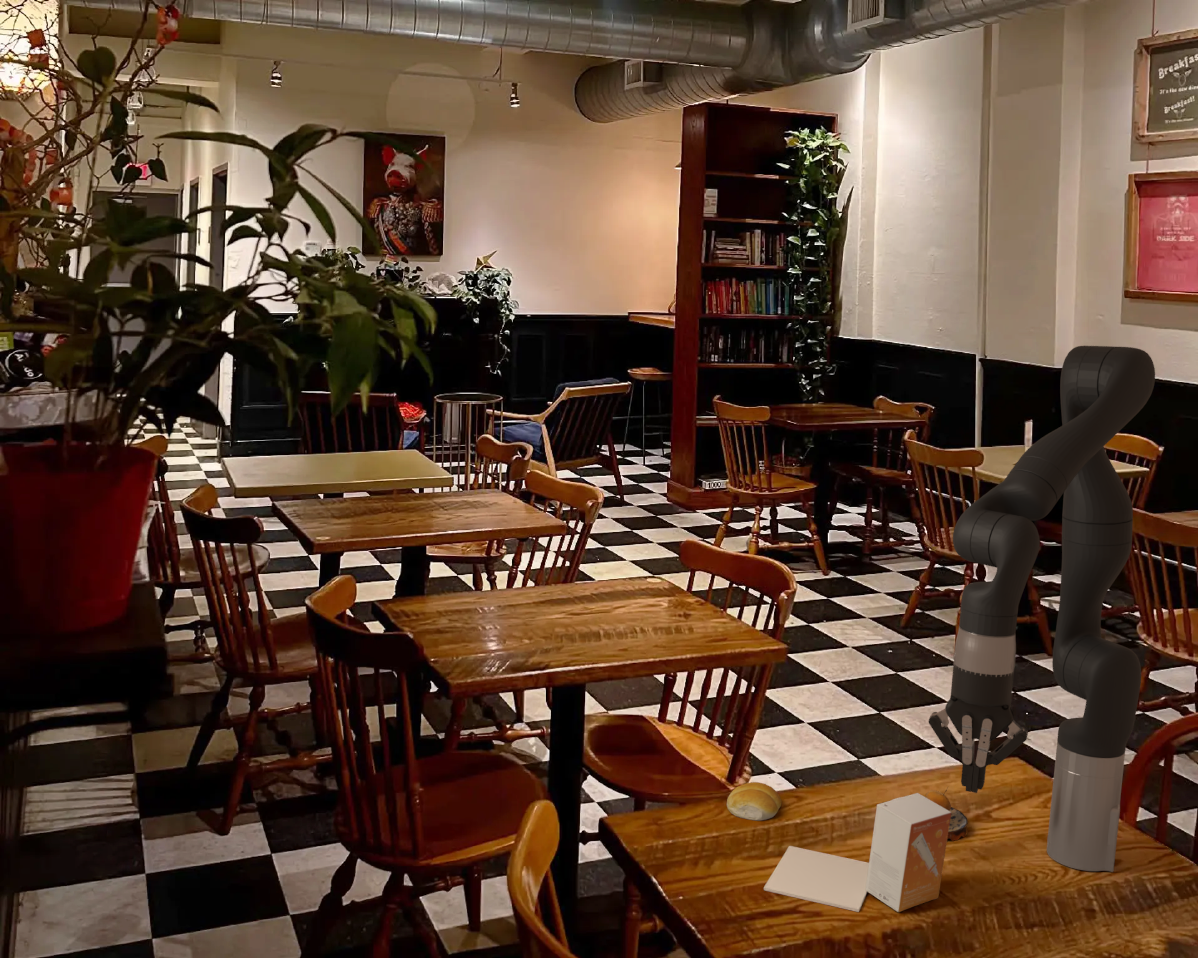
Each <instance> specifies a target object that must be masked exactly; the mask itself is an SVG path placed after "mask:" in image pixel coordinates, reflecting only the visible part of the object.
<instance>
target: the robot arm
mask: <svg viewBox="0 0 1198 958" xmlns="http://www.w3.org/2000/svg"><path fill="white" fill-rule="evenodd" d="M1155 382H1156V368H1155V364H1154V361H1153V358H1152V357H1151V355H1150V354H1149V353H1148V352H1146V350H1144V349H1140V348H1138V347H1130V346H1113V345H1112V346H1109V345H1108V346H1107V345H1079V346H1075V347H1073V348H1072V349H1071V350H1069V352H1068V353H1067V355H1066V356H1065V358H1064V360H1063V364H1062V367H1061V372H1060V383H1059V384H1060V385H1059V387H1060V389H1059V394H1060V395H1059V396H1060V410H1061V423H1062V425H1061V426H1060V427H1058V428H1056V429H1054V430H1052V431H1051V432H1049V433H1047V434H1045V435H1044V436H1043V437H1041V438H1040V439H1037V440H1036V441H1035V442H1034V443H1033V444H1032V445H1030V446H1029V448H1027V449H1026V451H1024V453H1023V454H1022V455H1021V456H1020V458H1018V460H1017V462H1015V464H1014V466H1013V467H1012V469H1011V470H1010V471H1009V473H1008V474H1007V475H1006V477H1005V478H1004V479H1003V480H1002V481H1001V482H1000V483H999V484H997V485H996V486H994V487H992V489H990V490H988V491H987V492H986V493H984V494H983V495H982V496H981V497H980V498H978V499H977V500H975V501H974V502H972V504H971V505H970V506H968V507H967V508H966V510H964V511H963V513H962V514H961V515H960V517H959V518H958V520H957V521H956V524H955V526H954V528H953V532H952V544H953V547H954V550H955V552H956V554H958V556H959V557H960V558H962V559H964V560H965V561H968V562H970V563H975V564H979V565H982V566H983V565H984V566H988V567H992V568H996V571H995V574H994V576H993V579H992V580H991V581H973V582H971V583H968V584H967V585H966V586H964V588H963V589H962V590H963V591H962V595H961V601H960V613H959V624H958V632H957V635H956V640H955V645H954V652H953V655H952V657H953V664H952V665H953V667H952V674H951V675H952V677H951V688H950V698H949V700H948V701H947V702H946V704H945V708H943V709H941V710H939V711H934V712H932V713H931V714H930V716H929V719H928V724H929V726H930V727H931V729H932V730H933V732H934V734H935V735H936V737H937V738H938V740H939V741H940V742H941V743H940V744H942V745H943V747H944V748H945V750H946V752H947V753H948V755H949V756H950V757H951V758H956V759H959V760H960V761H961V763H962V768H961V778H960V783H961V786H963V787H965V792H970V793H974V794H977V793H978V792H979V791H978V790H983V788H984V785H985V781H986V772H987V771H986V769H987V767H988V766H991V765H994V766H998V765H1000V764H1001V763H1002V762H1003V761H1004V760H1005V759H1006V758H1007V757H1009V756H1010V755H1011V754H1012V753H1013V752H1014V751H1016V749H1018V747H1020V746H1021V745H1022V744H1023V743H1025V742H1026V741H1027V739H1028V734H1029V729H1028V728H1027V727H1025V726H1021V725H1020V724H1019V723H1018V722H1016V720H1014V718H1015V717H1014V716H1015V714H1014V712H1013V709H1012V706H1011V705H1012V704H1011V703H1012V695H1013V694H1012V693H1013V685H1014V674H1015V666H1016V657H1017V656H1016V655H1017V642H1016V632H1017V622H1018V613H1019V605H1020V601H1021V598H1022V595H1023V592H1024V589H1025V587H1026V584H1027V582H1028V579H1029V577H1030V574H1031V571H1032V569H1033V567H1034V564H1035V563H1036V560H1037V558H1038V554H1039V551H1040V542H1041V541H1040V540H1041V539H1040V536H1039V531H1038V528H1037V526H1036V525H1035V523H1033V522H1034V521H1039V520H1042V519H1044V518H1045V517H1046V516H1048V515H1049V513H1050V512H1052V510H1053V508H1054V507H1055V506H1056V505H1057V503H1058V502H1059V500H1060V498H1061V497H1062V495H1063V499H1062V500H1063V501H1062V518H1061V521H1062V523H1061V552H1062V553H1061V571H1060V572H1061V575H1060V590H1059V591H1060V593H1059V604H1058V613H1057V620H1056V627H1055V634H1054V642H1053V648H1052V664H1051V665H1052V672H1053V677H1054V681H1055V682H1056V683H1057V685H1058V687H1060V688H1061V689H1062V690H1064V691H1065V692H1067V693H1069V694H1071V695H1074V696H1075V697H1078V698H1080V699H1082V700H1085V705H1084V706H1085V707H1084V711H1083V712H1084V713H1083V714H1082V715H1083V716H1082V717H1071V718H1068V719H1065V720H1063V721H1062V722H1061V723H1060V724H1059V726H1058V731H1057V737H1056V738H1057V741H1056V749H1055V751H1056V752H1055V759H1054V760H1055V762H1054V773H1053V781H1052V791H1051V802H1050V810H1049V811H1050V813H1049V823H1048V833H1047V839H1046V840H1047V843H1046V853H1047V855H1048V856H1049V857H1050V858H1051V859H1052V860H1053V861H1055V862H1057V863H1058V864H1061V865H1063V866H1065V867H1069V868H1071V869H1075V870H1078V871H1079V870H1081V871H1087V872H1101V871H1106V872H1112V873H1113V872H1114V870H1115V869H1114V868H1115V860H1116V850H1117V840H1118V832H1119V824H1120V823H1119V822H1120V814H1121V813H1120V812H1121V796H1122V795H1121V793H1122V786H1123V785H1122V783H1123V774H1124V769H1125V768H1124V765H1125V758H1126V757H1125V756H1126V749H1127V743H1128V741H1129V739H1130V737H1131V735H1132V733H1133V731H1134V727H1135V720H1136V715H1137V708H1138V702H1139V696H1140V691H1141V684H1142V668H1141V663H1140V659H1139V657H1138V655H1137V654H1136V653H1135V652H1134V651H1133V650H1132V649H1130V648H1129V647H1126V646H1124V645H1121V644H1119V643H1116V642H1113V641H1111V640H1108V639H1105V638H1102V629H1101V626H1102V625H1101V624H1102V622H1101V621H1102V611H1103V605H1104V604H1103V603H1104V599H1105V597H1106V595H1107V593H1108V591H1109V589H1110V588H1111V586H1112V585H1113V584H1114V582H1115V580H1116V579H1117V578H1118V576H1119V575H1120V574H1121V573H1122V570H1123V569H1124V567H1125V565H1126V564H1127V562H1128V559H1129V558H1130V554H1131V551H1132V545H1133V544H1132V543H1133V526H1134V525H1133V524H1134V523H1133V518H1134V515H1133V514H1134V512H1133V503H1132V500H1131V498H1130V495H1129V493H1128V491H1127V489H1126V487H1125V484H1124V483H1123V481H1122V479H1121V478H1120V476H1119V474H1118V473H1117V470H1116V469H1115V468H1114V466H1113V463H1112V461H1111V460H1110V458H1109V456H1108V455H1107V452H1106V449H1105V447H1104V446H1105V445H1107V444H1108V443H1109V442H1110V441H1111V440H1112V439H1113V438H1114V437H1115V436H1116V435H1117V434H1118V433H1119V432H1120V431H1121V430H1122V429H1123V428H1124V427H1125V426H1126V425H1127V424H1128V423H1129V422H1130V421H1132V419H1133V418H1134V417H1136V415H1137V414H1139V412H1140V411H1141V410H1142V409H1143V408H1144V407H1145V405H1146V404H1147V402H1148V401H1149V399H1150V397H1151V396H1152V393H1153V390H1154V386H1155ZM949 720H950V721H951V723H952V724H953V727H954V729H956V732H957V733H958V734H959V735H960V736H961V745H960V743H959V742H958V740H957V738H956V737H955V735H954V734H953V732H952V731H951V730H950V728H949V727H948V726H949V724H950V721H949ZM1006 729H1008V731H1007V735H1006V736H1007V739H1005V740H1004V741H1003V742H1002V743H1001V744H1000V745H999V746H998V747H996V748H995V749H994V750H993V751H989V750H990V745H991V741H994V740H996V739H998V737H999V736H1000V735H1001V734H1002V733H1004V731H1005V730H1006ZM975 739H976V740H978V745H977V752H976V757H975ZM975 758H976V759H975Z"/></svg>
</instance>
